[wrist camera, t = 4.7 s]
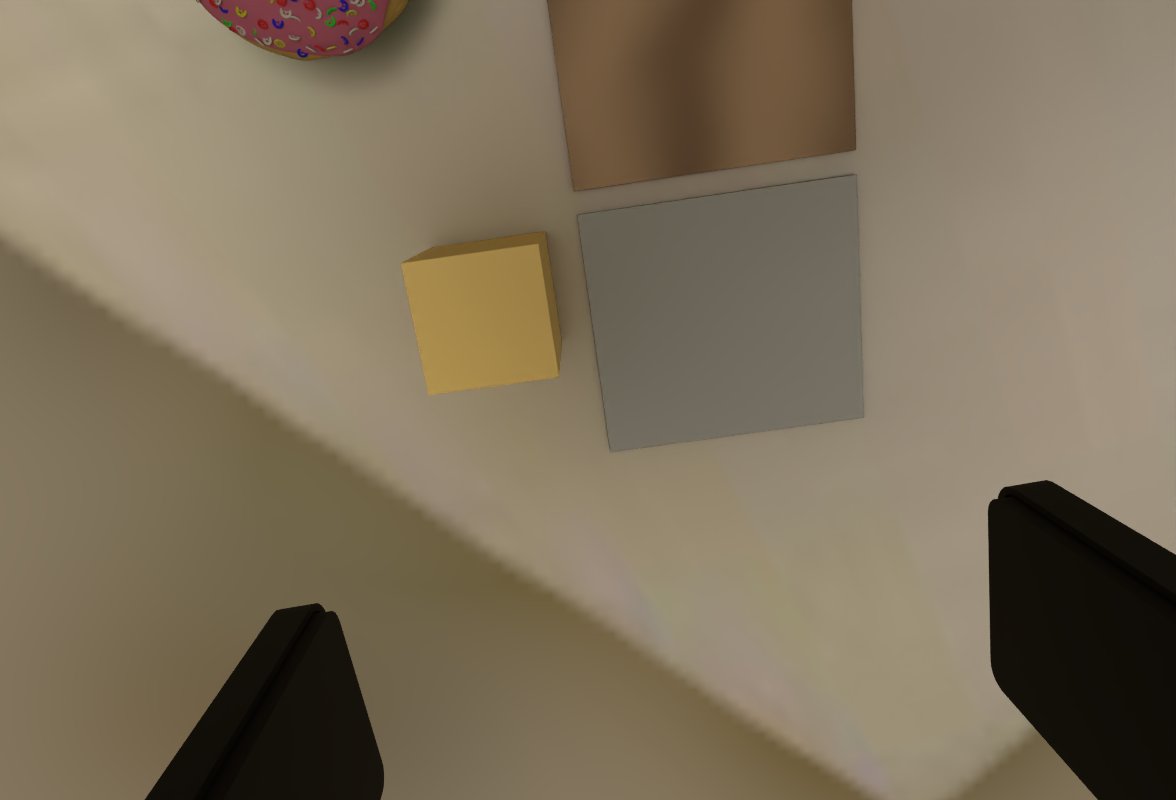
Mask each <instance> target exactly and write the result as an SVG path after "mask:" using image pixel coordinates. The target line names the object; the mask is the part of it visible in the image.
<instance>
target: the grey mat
mask: <svg viewBox="0 0 1176 800" xmlns="http://www.w3.org/2000/svg"><path fill="white" fill-rule="evenodd" d="M577 216H578V224H579V231H580V238H581V245H582V252H583V259H584V266H585V274H586V281H587V288H588V295H589V302H590V309H591V317H592V324H593V331H594V338H595V345H596V352H597V359H598V367H599V374H600V381H601V388H602V395H603V402H604V410H605V417H606V424H607V431H608V438H609V445H610V452H616V451H623V450H630V449H638V448H645V447H652V446H660V445H667V444H674V443H682V442H689V441H697V440H704V439H711V438H719V437H726V436H733V435H741V434H748V433H755V432H763V431H770V430H777V429H785V428H792V427H799V426H807V425H814V424H821V423H829V422H836V421H843V420H851V419H858V418H864V402H863V368H862V333H861V299H860V264H859V229H858V195H857V175H849V176H842V177H835V178H828V179H821V180H814V181H807V182H800V183H793V184H786V185H780V186H773V187H766V188H759V189H752V190H745V191H738V192H731V193H724V194H717V195H710V196H704V197H697V198H690V199H683V200H676V201H669V202H662V203H655V204H648V205H641V206H635V207H628V208H621V209H614V210H607V211H600V212H593V213H586V214H579V215H577Z"/></svg>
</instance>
